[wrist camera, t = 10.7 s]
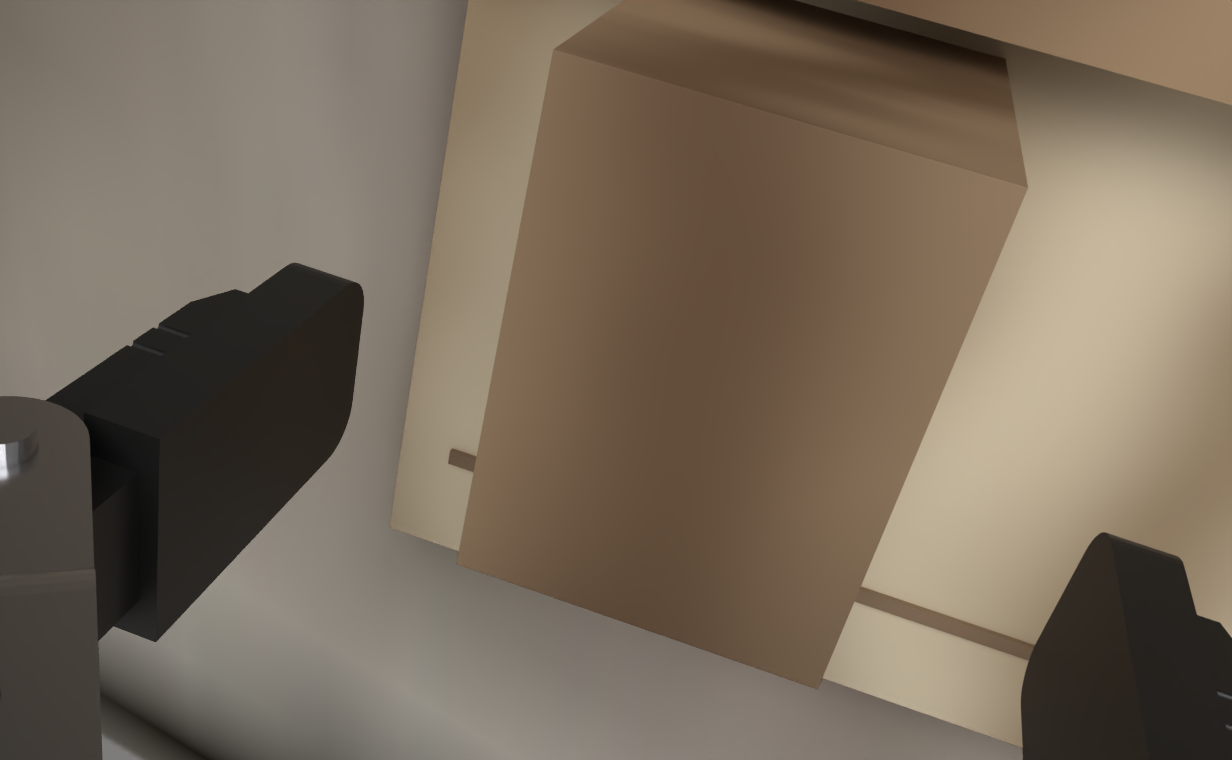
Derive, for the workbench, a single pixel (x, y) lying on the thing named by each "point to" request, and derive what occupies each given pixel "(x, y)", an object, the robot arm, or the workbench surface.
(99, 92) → the workbench surface
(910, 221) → the brown boxy piece
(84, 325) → the workbench surface
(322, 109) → the workbench surface
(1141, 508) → the maple board
